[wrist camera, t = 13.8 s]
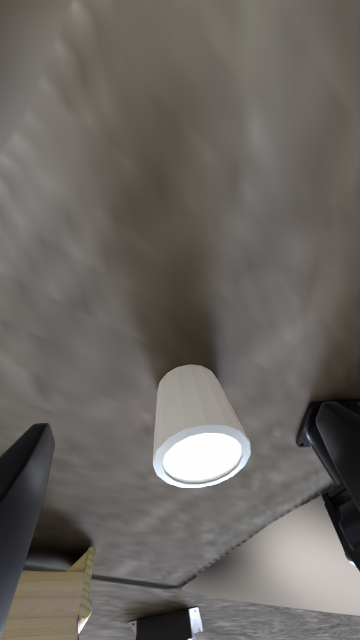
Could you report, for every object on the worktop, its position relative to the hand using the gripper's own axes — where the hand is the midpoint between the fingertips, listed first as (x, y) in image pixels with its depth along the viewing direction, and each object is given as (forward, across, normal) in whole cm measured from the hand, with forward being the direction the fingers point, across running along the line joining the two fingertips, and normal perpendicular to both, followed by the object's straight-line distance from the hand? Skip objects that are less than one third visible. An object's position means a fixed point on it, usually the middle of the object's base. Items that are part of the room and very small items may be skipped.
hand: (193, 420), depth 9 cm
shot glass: (+12, -2, +10) cm, 16 cm away
